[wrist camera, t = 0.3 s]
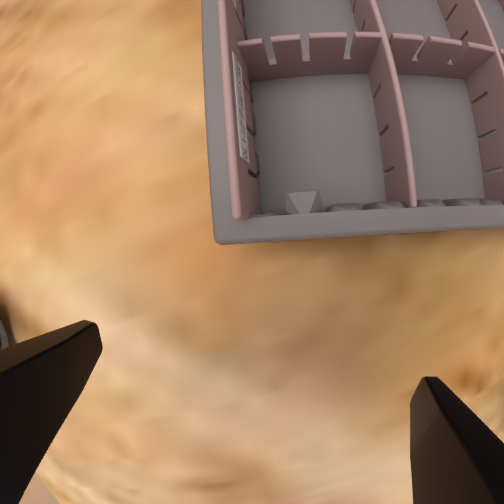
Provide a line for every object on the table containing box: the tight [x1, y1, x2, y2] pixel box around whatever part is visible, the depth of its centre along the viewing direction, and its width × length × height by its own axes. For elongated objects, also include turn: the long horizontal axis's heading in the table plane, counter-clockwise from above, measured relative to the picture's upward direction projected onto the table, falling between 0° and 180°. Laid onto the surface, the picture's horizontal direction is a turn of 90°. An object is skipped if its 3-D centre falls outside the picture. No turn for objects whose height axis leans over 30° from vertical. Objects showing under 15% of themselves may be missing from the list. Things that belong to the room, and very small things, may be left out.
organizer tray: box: [201, 0, 504, 245], centre depth 13 cm, size 32×40×10 cm
